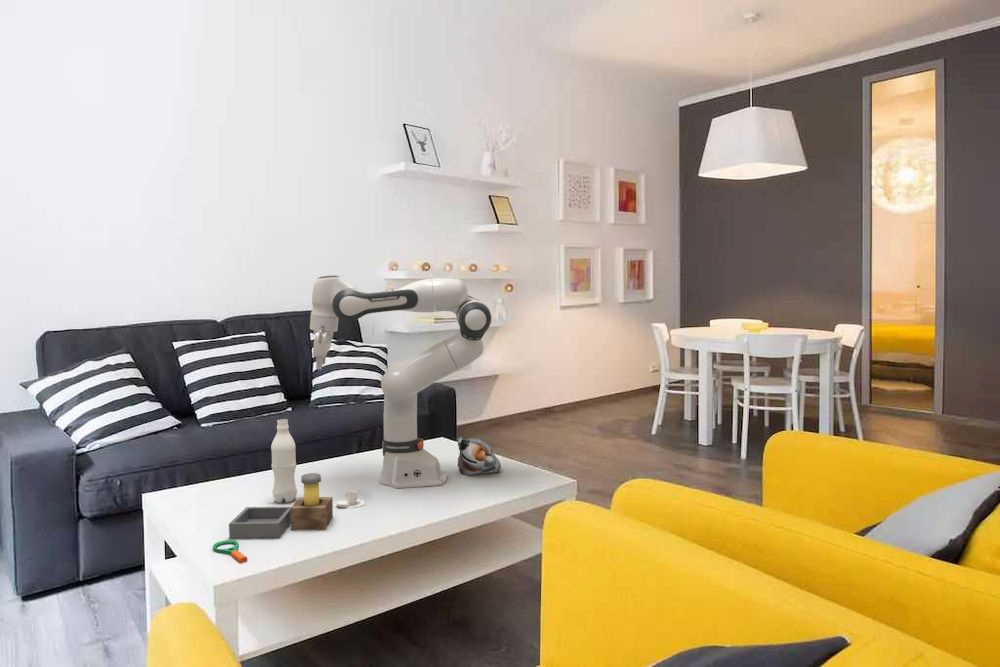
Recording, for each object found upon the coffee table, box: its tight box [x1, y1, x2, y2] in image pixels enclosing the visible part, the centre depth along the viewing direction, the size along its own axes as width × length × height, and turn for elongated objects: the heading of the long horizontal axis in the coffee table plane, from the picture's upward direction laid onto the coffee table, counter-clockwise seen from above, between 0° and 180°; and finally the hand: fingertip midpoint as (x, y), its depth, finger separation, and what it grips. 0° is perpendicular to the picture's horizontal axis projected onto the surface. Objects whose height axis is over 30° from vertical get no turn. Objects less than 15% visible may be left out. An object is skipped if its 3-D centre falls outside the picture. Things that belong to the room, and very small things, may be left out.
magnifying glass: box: [212, 539, 248, 564], centre depth 171 cm, size 15×6×2 cm, turn 41°
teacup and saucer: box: [335, 489, 366, 509], centre depth 207 cm, size 9×8×4 cm
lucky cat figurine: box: [457, 437, 502, 477], centre depth 238 cm, size 17×14×16 cm
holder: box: [290, 496, 334, 531], centre depth 191 cm, size 9×9×6 cm
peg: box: [300, 472, 322, 506], centre depth 190 cm, size 5×5×14 cm
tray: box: [228, 506, 292, 540], centre depth 187 cm, size 13×13×4 cm
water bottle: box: [270, 418, 298, 504], centre depth 210 cm, size 7×7×25 cm
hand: (320, 366), depth 225 cm, fingers open, 8 cm apart
